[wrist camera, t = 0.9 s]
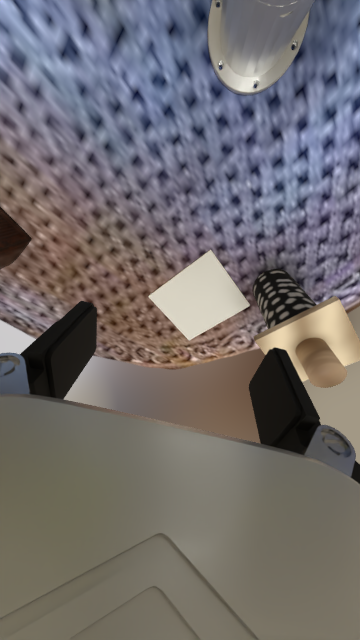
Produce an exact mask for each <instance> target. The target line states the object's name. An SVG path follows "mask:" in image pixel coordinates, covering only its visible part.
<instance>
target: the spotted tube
mask: <svg viewBox="0 0 360 640" xmlns="http://www.w3.org/2000/svg"><path fill="white" fill-rule="evenodd" d="M253 294H254V297H255V299H256V301H257V304H258V306H259V309H260V311H261V313H262V316H263V318H264V320H265V323H266V325H267V328H268V329H270V328H272V327H274V326H276V325H278V324H280V323H282V322H284V321H286V320H288V319H290V318H292V317H294V316H296V315H298V314H300V313H302V312H304V311H306V310H308V309H310V308H312V307H314V306H316V304H315V302H314V301H313V300H312V299H311V298H310V297H309V296H308V295H307V294H306V292H305V291H304V290H303V289H302V288H301V287H300V286H299V285H298V284H297V282H296V281H295V280H294V279H293V278H292V277H291V276H290V275H289V274H288V273H287V272H285V271H283V270H280V269H273V270H269V271H266V272H264V273H263V274H261V275H260V276H259V277H258V278H257V279H256V281H255V283H254V285H253Z"/></svg>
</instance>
